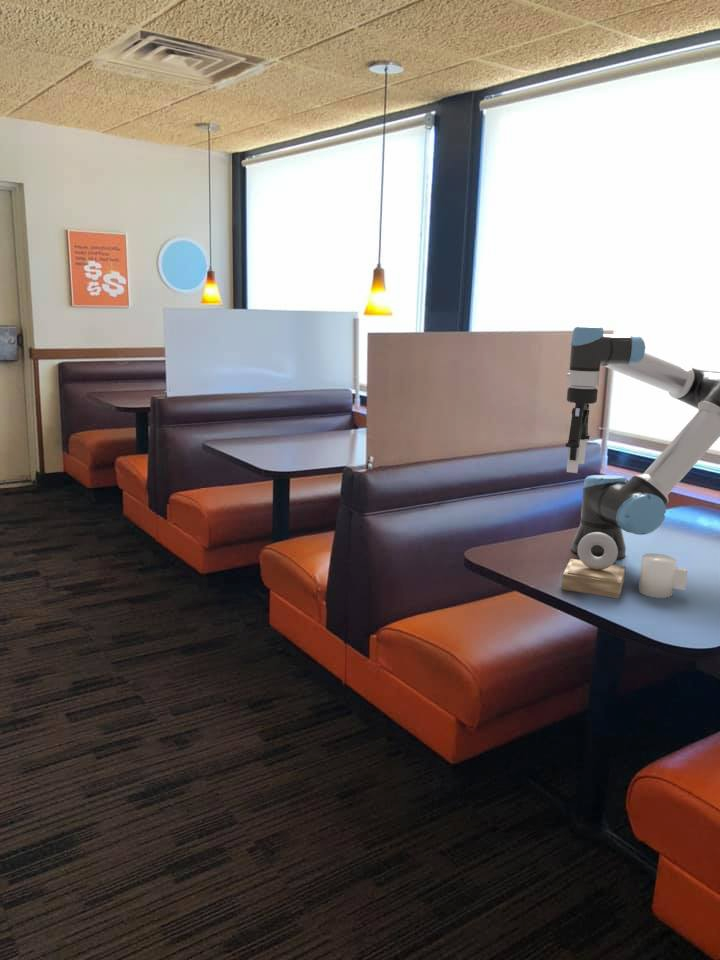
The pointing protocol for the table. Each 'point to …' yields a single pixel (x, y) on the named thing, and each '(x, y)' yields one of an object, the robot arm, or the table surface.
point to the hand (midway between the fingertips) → (575, 467)
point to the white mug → (660, 576)
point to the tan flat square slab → (593, 579)
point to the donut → (602, 541)
